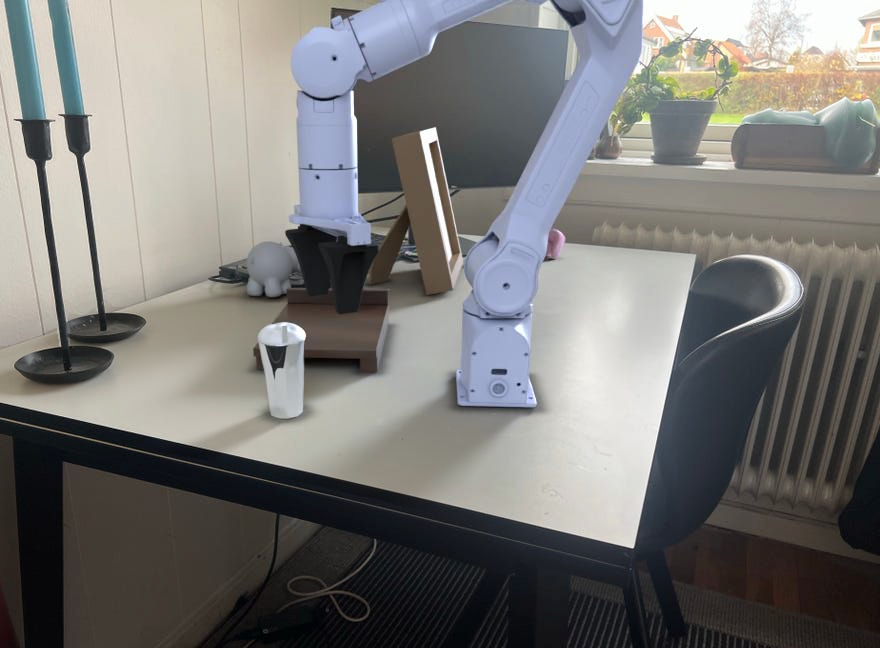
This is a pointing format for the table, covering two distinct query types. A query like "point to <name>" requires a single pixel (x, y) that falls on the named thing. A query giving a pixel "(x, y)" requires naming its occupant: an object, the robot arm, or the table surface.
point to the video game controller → (554, 243)
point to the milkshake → (283, 367)
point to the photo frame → (423, 215)
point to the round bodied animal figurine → (270, 269)
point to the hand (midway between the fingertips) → (331, 303)
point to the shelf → (337, 326)
